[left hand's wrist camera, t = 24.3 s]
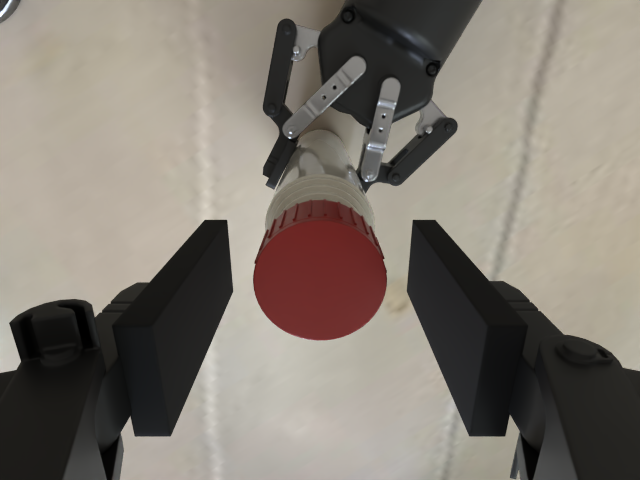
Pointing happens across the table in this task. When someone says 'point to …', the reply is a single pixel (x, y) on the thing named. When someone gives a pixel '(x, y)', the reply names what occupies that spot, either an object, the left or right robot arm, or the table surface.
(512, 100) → the table surface
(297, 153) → the bottle
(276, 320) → the cap
